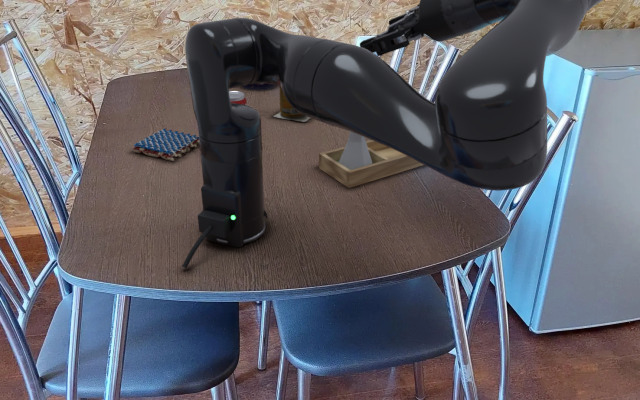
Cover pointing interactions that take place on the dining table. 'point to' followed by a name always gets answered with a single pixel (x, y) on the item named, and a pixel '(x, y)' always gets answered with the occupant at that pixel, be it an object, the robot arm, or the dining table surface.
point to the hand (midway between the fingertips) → (377, 37)
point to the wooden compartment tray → (382, 165)
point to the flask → (355, 152)
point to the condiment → (289, 110)
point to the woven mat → (166, 144)
